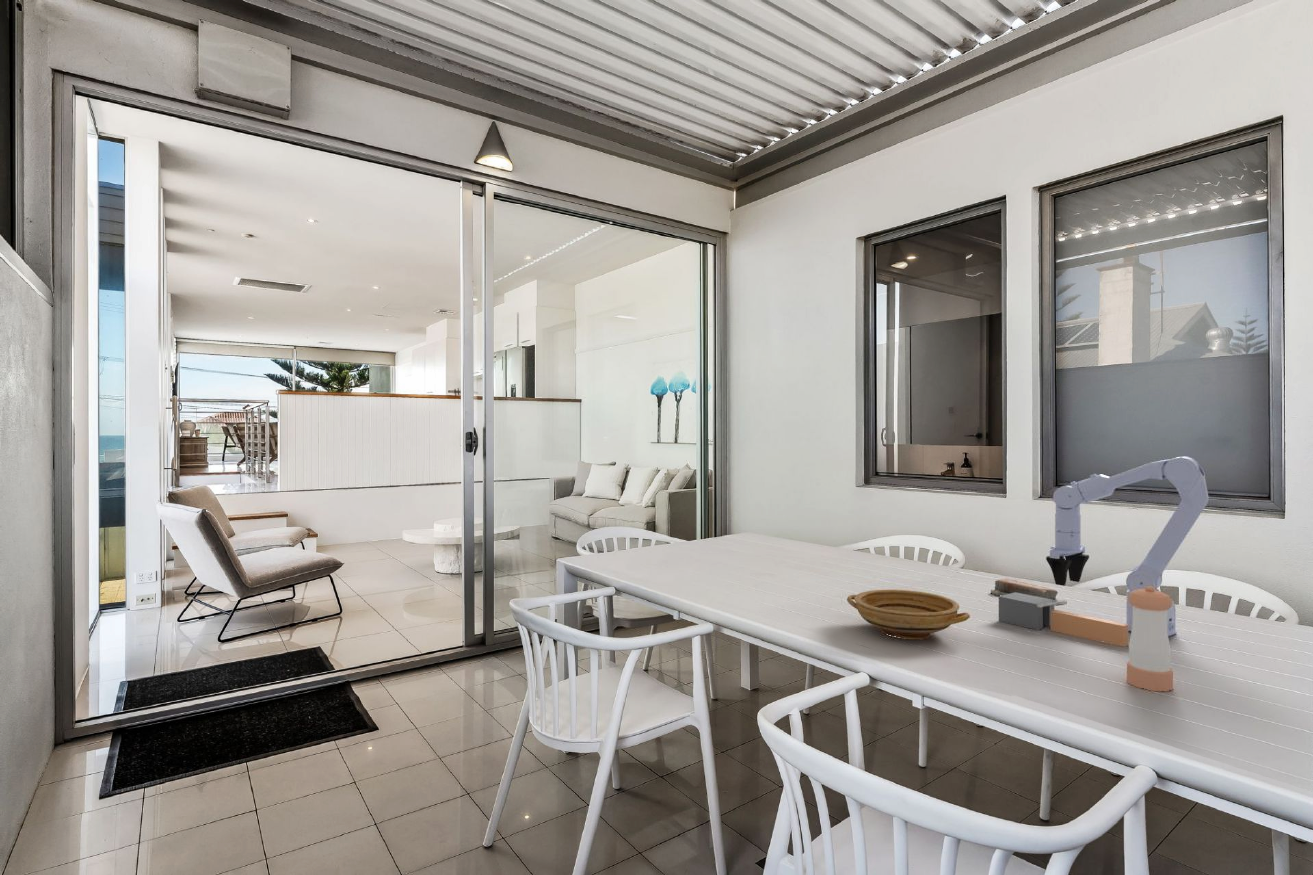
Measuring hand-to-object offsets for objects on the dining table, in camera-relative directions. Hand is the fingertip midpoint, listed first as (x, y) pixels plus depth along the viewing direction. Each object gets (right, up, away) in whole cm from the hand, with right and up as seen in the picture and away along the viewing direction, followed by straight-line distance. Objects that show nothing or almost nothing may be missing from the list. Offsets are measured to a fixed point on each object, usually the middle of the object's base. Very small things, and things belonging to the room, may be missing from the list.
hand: (1067, 583), depth 179 cm
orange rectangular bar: (-5, -10, -16) cm, 19 cm away
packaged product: (+1, -10, +22) cm, 24 cm away
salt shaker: (-12, -10, -47) cm, 49 cm away
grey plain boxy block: (-13, -10, -4) cm, 17 cm away
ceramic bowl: (-47, -10, -12) cm, 50 cm away
